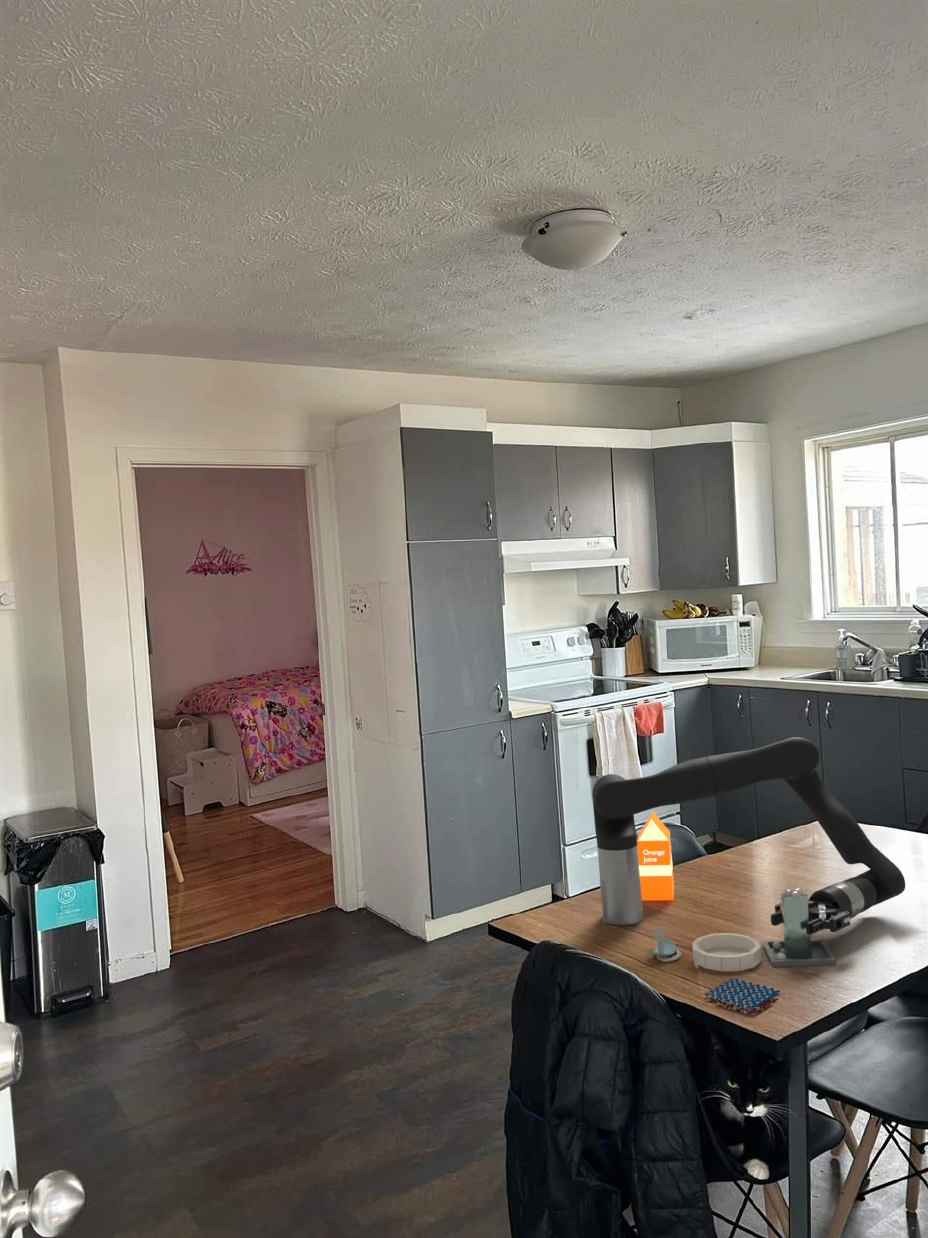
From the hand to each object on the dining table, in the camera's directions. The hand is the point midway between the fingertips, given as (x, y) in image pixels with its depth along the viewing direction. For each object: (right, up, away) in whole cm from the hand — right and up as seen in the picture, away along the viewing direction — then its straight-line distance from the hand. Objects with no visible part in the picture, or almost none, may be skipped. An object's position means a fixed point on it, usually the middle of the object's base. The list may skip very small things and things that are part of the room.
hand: (789, 925), depth 190 cm
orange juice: (-16, -8, +49) cm, 52 cm away
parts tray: (+2, -7, +1) cm, 8 cm away
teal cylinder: (+2, -6, +1) cm, 7 cm away
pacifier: (-23, -10, +8) cm, 26 cm away
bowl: (-12, -8, +3) cm, 15 cm away
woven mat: (-13, -10, -15) cm, 22 cm away
